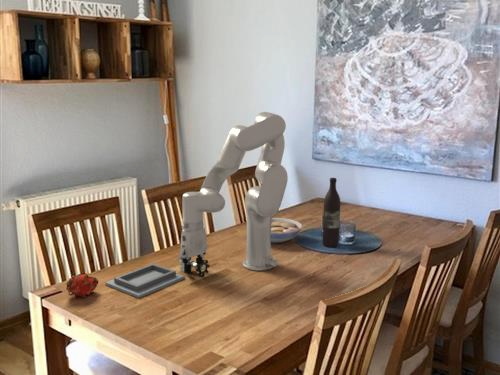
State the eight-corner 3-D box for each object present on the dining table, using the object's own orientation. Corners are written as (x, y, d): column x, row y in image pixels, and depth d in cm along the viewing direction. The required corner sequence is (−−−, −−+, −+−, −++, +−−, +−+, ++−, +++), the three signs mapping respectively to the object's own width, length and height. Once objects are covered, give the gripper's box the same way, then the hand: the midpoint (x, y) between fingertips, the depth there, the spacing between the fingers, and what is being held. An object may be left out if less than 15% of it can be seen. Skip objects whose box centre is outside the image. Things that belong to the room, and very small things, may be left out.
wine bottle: (320, 246, 237) (323, 179, 230) (324, 241, 243) (327, 176, 237) (336, 248, 234) (339, 180, 228) (340, 243, 241) (343, 177, 234)
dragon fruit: (63, 304, 183) (96, 299, 192) (73, 296, 178) (107, 291, 186) (58, 280, 186) (91, 276, 194) (68, 271, 181) (101, 267, 189)
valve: (175, 271, 208) (197, 279, 201) (174, 255, 207) (197, 262, 199) (187, 266, 213) (210, 273, 206) (187, 250, 212) (209, 257, 204)
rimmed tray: (184, 278, 201) (184, 271, 201) (138, 298, 185) (138, 290, 184) (151, 267, 212) (151, 260, 212) (105, 284, 195) (105, 277, 195)
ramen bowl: (294, 252, 229) (294, 234, 228) (243, 246, 237) (243, 228, 235) (307, 235, 252) (308, 218, 251) (260, 230, 260) (260, 213, 258)
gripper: (183, 232, 193) (184, 280, 198) (215, 221, 207) (216, 266, 211) (169, 228, 198) (170, 275, 202) (201, 218, 211) (202, 262, 215)
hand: (193, 270), depth 206 cm, fingers closed on valve, 5 cm apart
